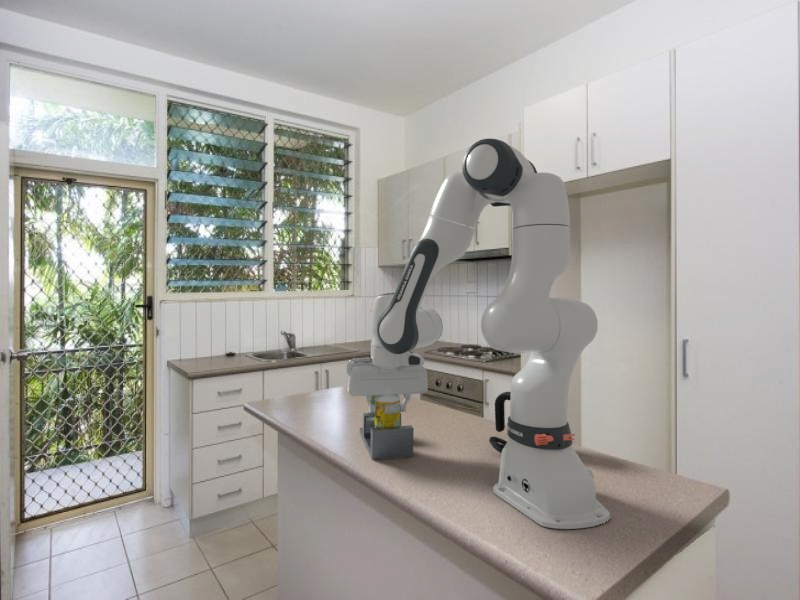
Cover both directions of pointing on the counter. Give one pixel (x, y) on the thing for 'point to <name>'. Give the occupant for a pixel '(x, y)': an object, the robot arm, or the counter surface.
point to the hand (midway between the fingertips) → (387, 411)
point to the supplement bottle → (387, 409)
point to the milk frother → (499, 421)
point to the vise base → (389, 442)
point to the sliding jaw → (370, 419)
